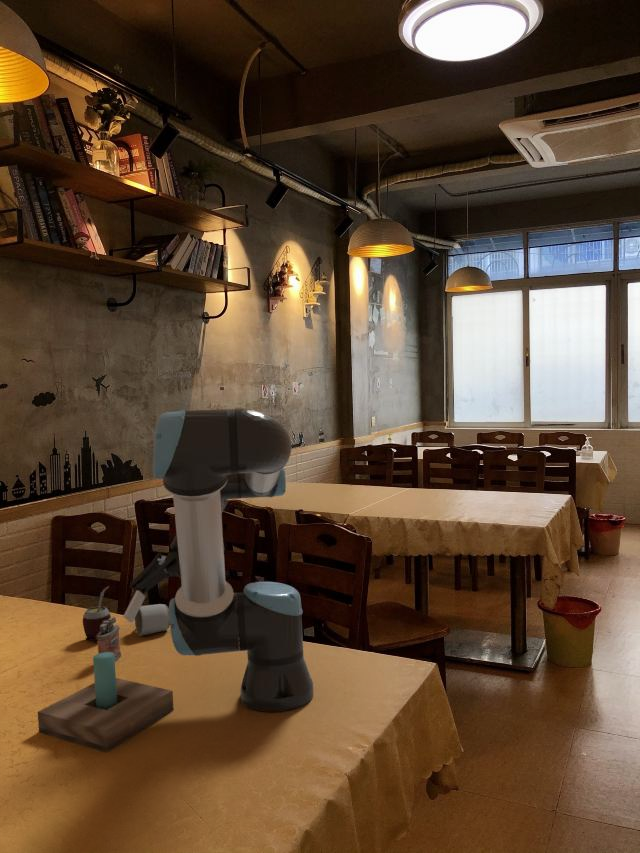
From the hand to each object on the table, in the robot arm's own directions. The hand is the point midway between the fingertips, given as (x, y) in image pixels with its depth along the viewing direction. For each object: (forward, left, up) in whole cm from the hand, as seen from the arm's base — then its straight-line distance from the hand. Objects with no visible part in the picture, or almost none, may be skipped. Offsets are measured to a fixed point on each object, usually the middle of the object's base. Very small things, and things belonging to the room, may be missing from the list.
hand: (150, 623), depth 150 cm
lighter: (+22, -8, -15) cm, 27 cm away
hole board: (-1, +15, -15) cm, 21 cm away
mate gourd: (+36, -18, -15) cm, 42 cm away
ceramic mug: (+27, -28, -15) cm, 42 cm away
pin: (-1, +15, -14) cm, 20 cm away
